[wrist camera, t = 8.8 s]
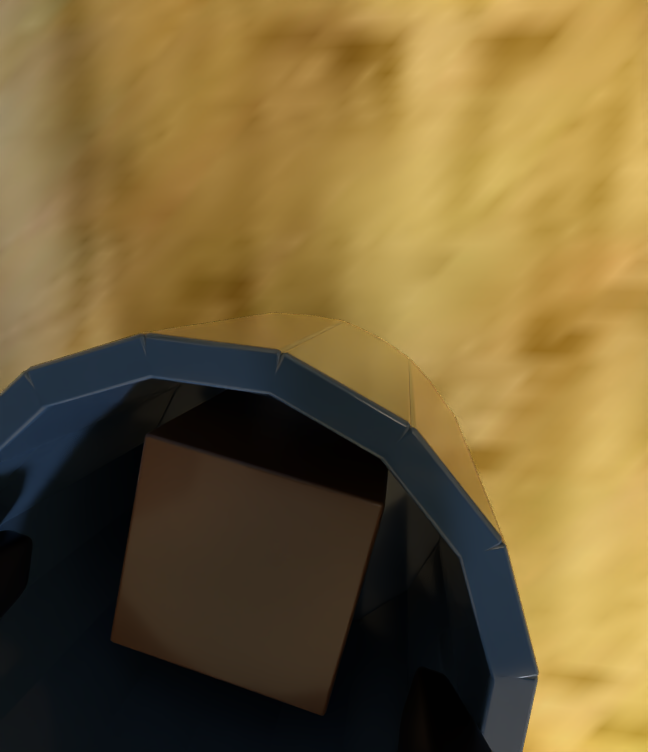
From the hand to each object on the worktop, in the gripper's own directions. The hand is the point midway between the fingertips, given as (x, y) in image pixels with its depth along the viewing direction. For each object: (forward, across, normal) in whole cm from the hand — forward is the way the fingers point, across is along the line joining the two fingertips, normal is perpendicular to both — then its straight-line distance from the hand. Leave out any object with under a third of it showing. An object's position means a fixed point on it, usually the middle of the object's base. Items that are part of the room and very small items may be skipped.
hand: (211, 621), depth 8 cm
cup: (+6, 0, 0) cm, 6 cm away
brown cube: (+6, 0, 0) cm, 6 cm away
